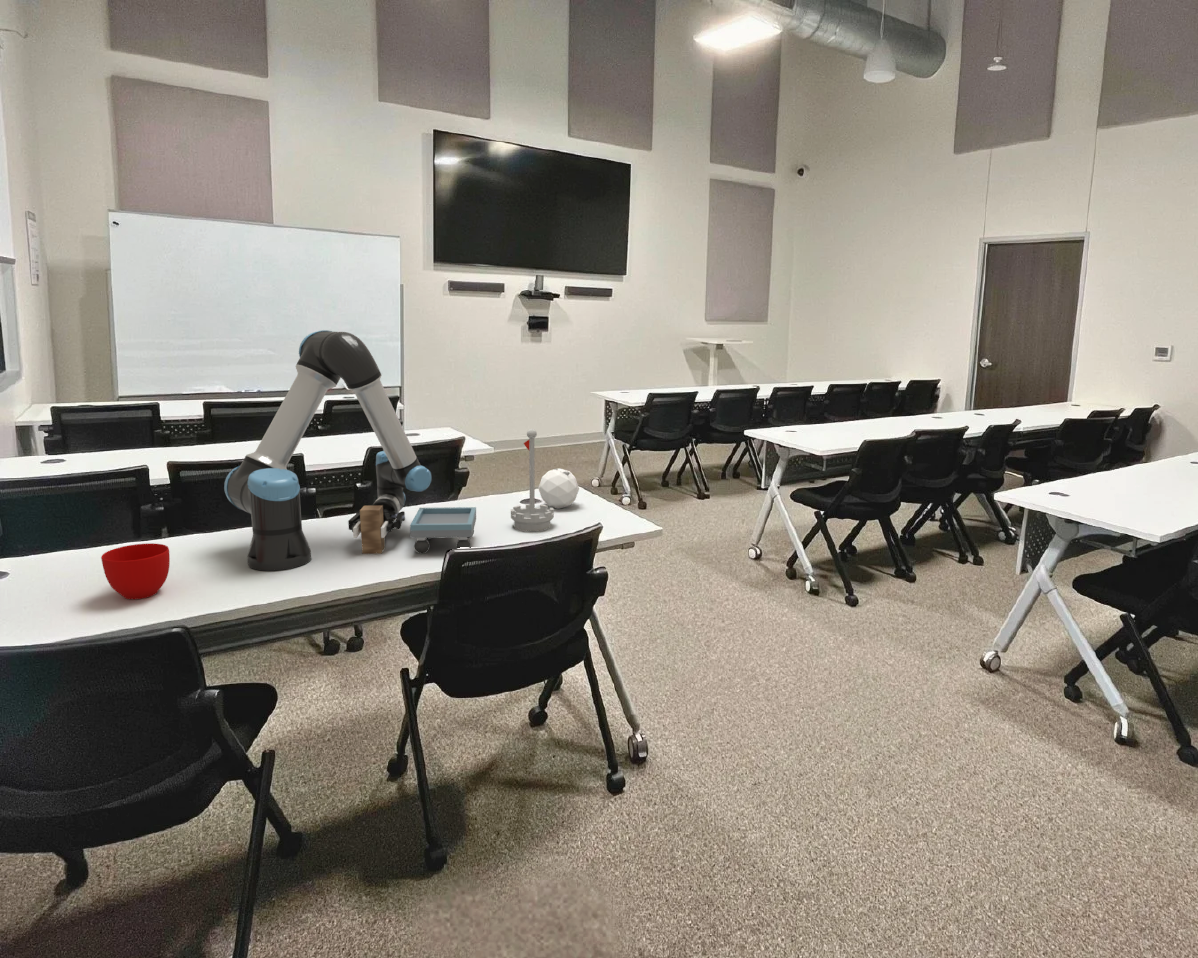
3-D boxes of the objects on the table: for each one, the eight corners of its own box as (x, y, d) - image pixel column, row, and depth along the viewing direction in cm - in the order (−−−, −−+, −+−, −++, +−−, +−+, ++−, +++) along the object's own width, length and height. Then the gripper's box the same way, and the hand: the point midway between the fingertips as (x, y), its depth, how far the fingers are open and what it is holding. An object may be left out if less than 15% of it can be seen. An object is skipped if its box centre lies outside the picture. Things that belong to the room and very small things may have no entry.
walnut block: (362, 553, 199) (359, 510, 197) (366, 548, 204) (363, 505, 202) (381, 553, 200) (379, 510, 197) (384, 547, 205) (382, 505, 202)
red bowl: (160, 575, 181) (156, 536, 179) (180, 595, 169) (175, 553, 167) (97, 588, 172) (92, 546, 170) (113, 609, 160) (108, 565, 158)
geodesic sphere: (595, 490, 250) (575, 455, 252) (574, 498, 239) (552, 462, 240) (567, 510, 258) (547, 477, 259) (544, 519, 246) (523, 484, 248)
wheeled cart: (411, 555, 198) (410, 525, 196) (420, 536, 216) (419, 507, 214) (472, 554, 200) (471, 524, 198) (476, 535, 217) (476, 507, 215)
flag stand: (561, 528, 226) (562, 430, 219) (523, 534, 219) (523, 433, 212) (540, 518, 236) (539, 424, 230) (503, 524, 229) (502, 427, 223)
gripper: (419, 522, 220) (406, 546, 197) (351, 523, 218) (331, 547, 196) (418, 497, 218) (405, 518, 196) (350, 498, 216) (329, 519, 194)
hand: (368, 532), depth 196 cm, fingers open, 6 cm apart
